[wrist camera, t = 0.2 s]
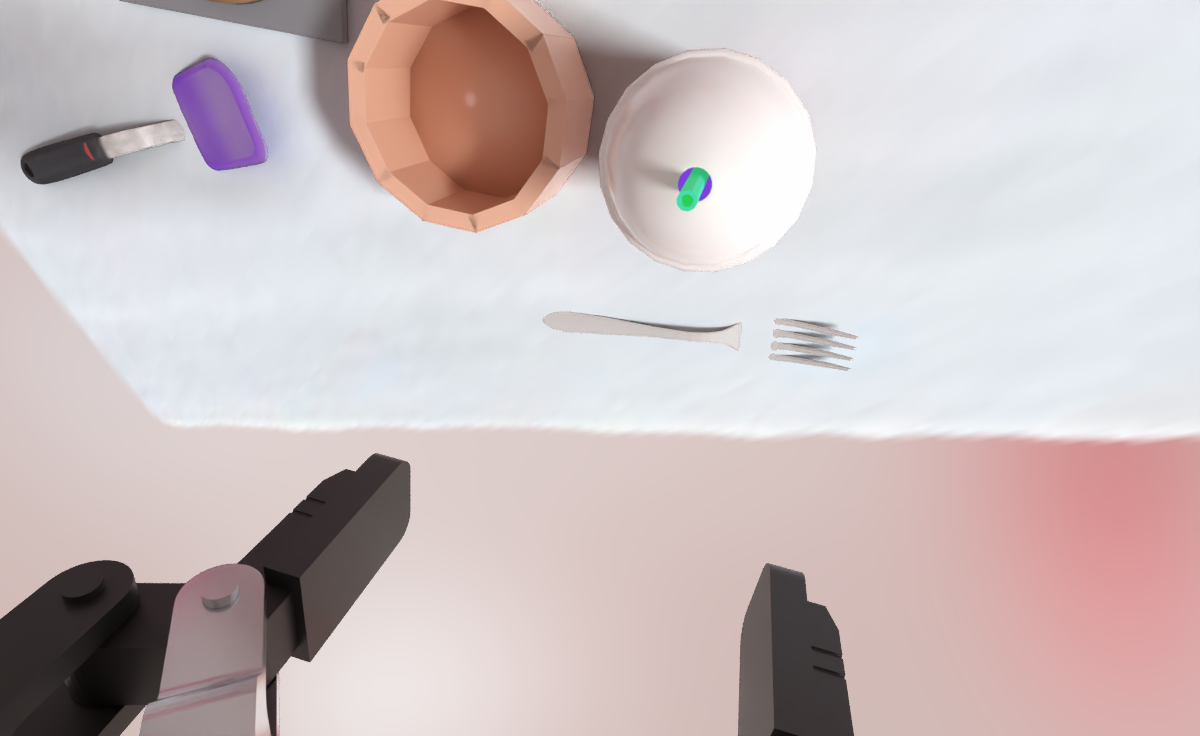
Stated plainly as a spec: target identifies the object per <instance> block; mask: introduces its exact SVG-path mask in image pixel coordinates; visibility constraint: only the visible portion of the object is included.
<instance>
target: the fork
mask: <svg viewBox="0 0 1200 736" xmlns="http://www.w3.org/2000/svg"><path fill="white" fill-rule="evenodd" d="M774 321H775V323H776V324H777V325H787V326H794V327H799V328H803V329H808V330H812V331H817V332H821V333H826V334H831V335H836V336H841V337H846V338H852V339H858V337H857V336H854V335H851V334H847V333H844V332H840V331H837V330H834V329H830V328H825V327H821V326H817V325H812V324H808V323H804V322H800V321H795V320H790V319H776V320H774ZM543 322H544V323H545V324H546V325H548V326H549V327H551V328H553V329H556V330H560V331H565V332H575V333H592V334H607V335H630V336H644V337H658V338H667V339H676V340H685V341H696V342H709V343H720V344H725V345H728V346H730V347H732V348H734V349H736V350H739V348H740V339H741V328H742V325H741V322H740V323H737V324H734V325H732V326H731V327H728V328H726V329H724V330H720V331H715V332H688V331H680V330H673V329H667V328H661V327H655V326H650V325H644V324H639V323H634V322H629V321H624V320H619V319H614V318H609V317H604V316H598V315H590V314H582V313H575V312H553V313H551V314H549V315H547V316H545V317H543ZM773 336H774V337H775V338H778V337H783V338H792V339H798V340H803V341H808V342H813V343H818V344H824V345H829V346H834V347H840V348H846V349H851V350H856V347H853V346H849V345H846V344H842V343H839V342H835V341H832V340H827V339H822V338H818V337H813V336H808V335H803V334H799V333H794V332H789V331H782V330H779V329H776V330H774V331H773ZM771 349H772V350H777V349H779V350H791V351H797V352H803V353H809V354H815V355H820V356H826V357H832V358H838V359H844V360H849V361H853V358H850V357H847V356H843V355H839V354H836V353H832V352H828V351H823V350H818V349H813V348H808V347H803V346H798V345H792V344H787V343H778V342H776V341H775V342H772V344H771ZM769 359H771V360H777V361H786V362H794V363H800V364H807V365H814V366H820V367H827V368H833V369H839V370H845V371H850V368H847V367H843V366H839V365H835V364H832V363H828V362H823V361H817V360H811V359H805V358H799V357H793V356H786V355H775V354H771V355H770V356H769Z"/></svg>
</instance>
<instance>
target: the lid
mask: <svg viewBox="0 0 1200 736" xmlns="http://www.w3.org/2000/svg"><path fill="white" fill-rule="evenodd" d="M208 1H212V2H218V3H227V4H237V5H241V4H252V3H256V2H260V1H263V0H208Z"/></svg>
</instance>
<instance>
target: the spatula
mask: <svg viewBox="0 0 1200 736" xmlns="http://www.w3.org/2000/svg"><path fill="white" fill-rule="evenodd" d="M172 86H173V91H174V93H175V96H176V98H177V101H178V103H179V106H180V109H181V111H182V113H183V115H184V117H185V119H186V121H187V124H188V127H189V129H190V131H191V133H192V135H193V137H194V140H195V142H196V144H197V146H198V148H199V150H200V152H201V154H202V156H203V158H204V160H205V162H206V163H207V164H208V166H209V167H211V168H212V169H214V170H229V169H234V168H240V167H247V166H252V165H257V164H261V163H264V162H265V161H266V160H267V157H268V149H267V146H266V144H265V141H264V139H263V137H262V135H261V132H260V130H259V128H258V125H257V123H256V121H255V118H254V116H253V113H252V111H251V108H250V106H249V104H248V101H247V98H246V95H245V93H244V91H243V89H242V87H241V85H240V84H239V83H238V81H237V79H236V77H235V76H234V75H233V73H232V72H231V71H230V70H229V69H228V68H227V67H226V66H225V65H224V64H223V63H222V62H220V61H218V60H217V59H213V58H208V59H206V60H204V61H202V62H201V63H199V64H196V65H194V66H191V67H189V68H188V69H186V70H184V71H182V72H181V73H179V74H177V75H176V76H175V77H174V79H173V85H172ZM184 139H185V134H184V130H183V128H182V126H181V125H180V124H179V122H178V121H177V120H170V121H165V122H161V123H155V124H150V125H145V126H142V127H137V128H132V129H128V130H124V131H120V132H116V133H111V134H109V135H108V134H107V135H104V136H101V135H100V134H97V133H92V134H88V135H84V136H80V137H77V138H73V139H69V140H65V141H62V142H59V143H55V144H52V145H48V146H45V147H42V148H39V149H36V150H34V151H31V152H29V153H27V154H25V155H24V156H23V157H22V159H21V168H22V171H23V172H24V174H25V175H26V177H27V178H28V179H30V180H31V181H32V182H34V183H37V184H48V183H53V182H57V181H60V180H64V179H67V178H70V177H74V176H77V175H80V174H83V173H86V172H89V171H92V170H95V169H97V168H100V167H103V166H106V165H108V164H111V163H112V162H113V158H116V157H118V156H121V155H124V154H127V153H133V152H136V151H140V150H144V149H148V148H152V147H156V146H160V145H165V144H169V143H173V142H178V141H182V140H184Z"/></svg>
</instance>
